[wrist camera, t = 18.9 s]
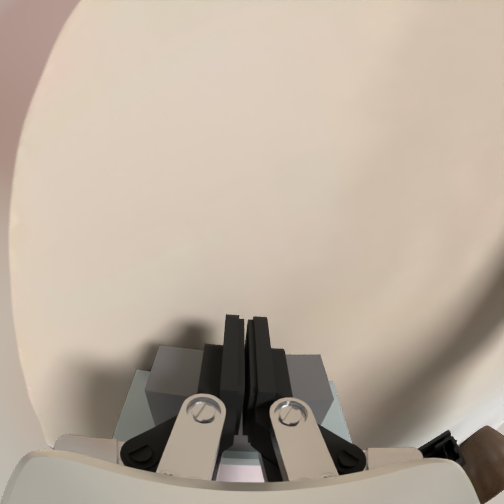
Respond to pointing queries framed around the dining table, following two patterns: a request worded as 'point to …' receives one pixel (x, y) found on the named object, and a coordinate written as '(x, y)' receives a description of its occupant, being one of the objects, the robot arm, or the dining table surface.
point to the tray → (145, 421)
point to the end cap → (443, 449)
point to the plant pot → (485, 462)
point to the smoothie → (240, 473)
